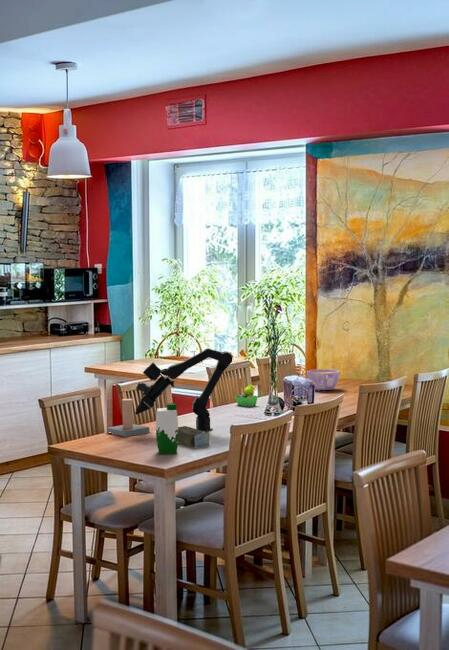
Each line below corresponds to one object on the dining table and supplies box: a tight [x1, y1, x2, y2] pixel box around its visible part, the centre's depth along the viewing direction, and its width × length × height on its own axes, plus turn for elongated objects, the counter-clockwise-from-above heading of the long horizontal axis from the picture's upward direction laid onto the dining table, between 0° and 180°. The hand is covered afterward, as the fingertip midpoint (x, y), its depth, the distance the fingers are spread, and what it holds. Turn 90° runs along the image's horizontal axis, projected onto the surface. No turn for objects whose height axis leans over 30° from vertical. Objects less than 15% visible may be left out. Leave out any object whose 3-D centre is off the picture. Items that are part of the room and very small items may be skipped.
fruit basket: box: [234, 384, 259, 407], centre depth 480 cm, size 11×9×11 cm
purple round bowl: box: [306, 368, 341, 391], centre depth 531 cm, size 20×20×12 cm
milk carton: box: [155, 402, 179, 455], centre depth 363 cm, size 9×9×20 cm
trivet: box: [106, 423, 151, 438], centre depth 409 cm, size 14×14×2 cm
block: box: [121, 398, 134, 428], centre depth 408 cm, size 4×4×13 cm
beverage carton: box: [178, 425, 210, 449], centre depth 381 cm, size 8×19×7 cm, turn 35°
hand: (136, 412), depth 408 cm, fingers open, 9 cm apart
